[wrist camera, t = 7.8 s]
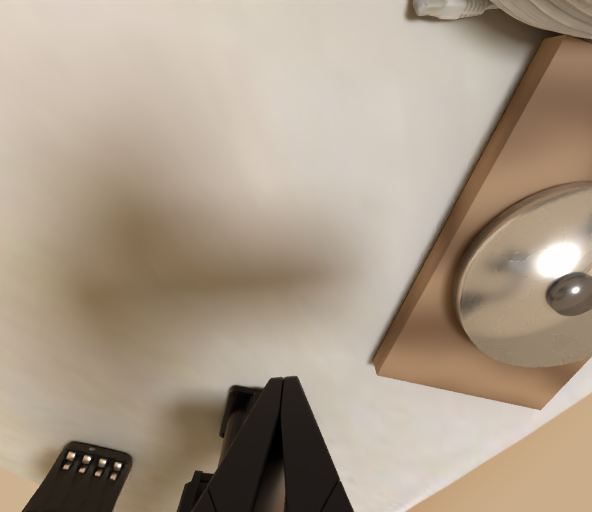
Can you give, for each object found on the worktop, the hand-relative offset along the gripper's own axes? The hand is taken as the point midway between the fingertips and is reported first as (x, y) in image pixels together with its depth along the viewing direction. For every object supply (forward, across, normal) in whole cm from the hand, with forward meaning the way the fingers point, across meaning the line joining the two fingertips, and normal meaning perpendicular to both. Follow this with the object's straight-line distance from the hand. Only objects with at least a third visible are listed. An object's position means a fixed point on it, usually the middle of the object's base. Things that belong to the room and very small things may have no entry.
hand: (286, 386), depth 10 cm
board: (+12, -16, +4) cm, 20 cm away
